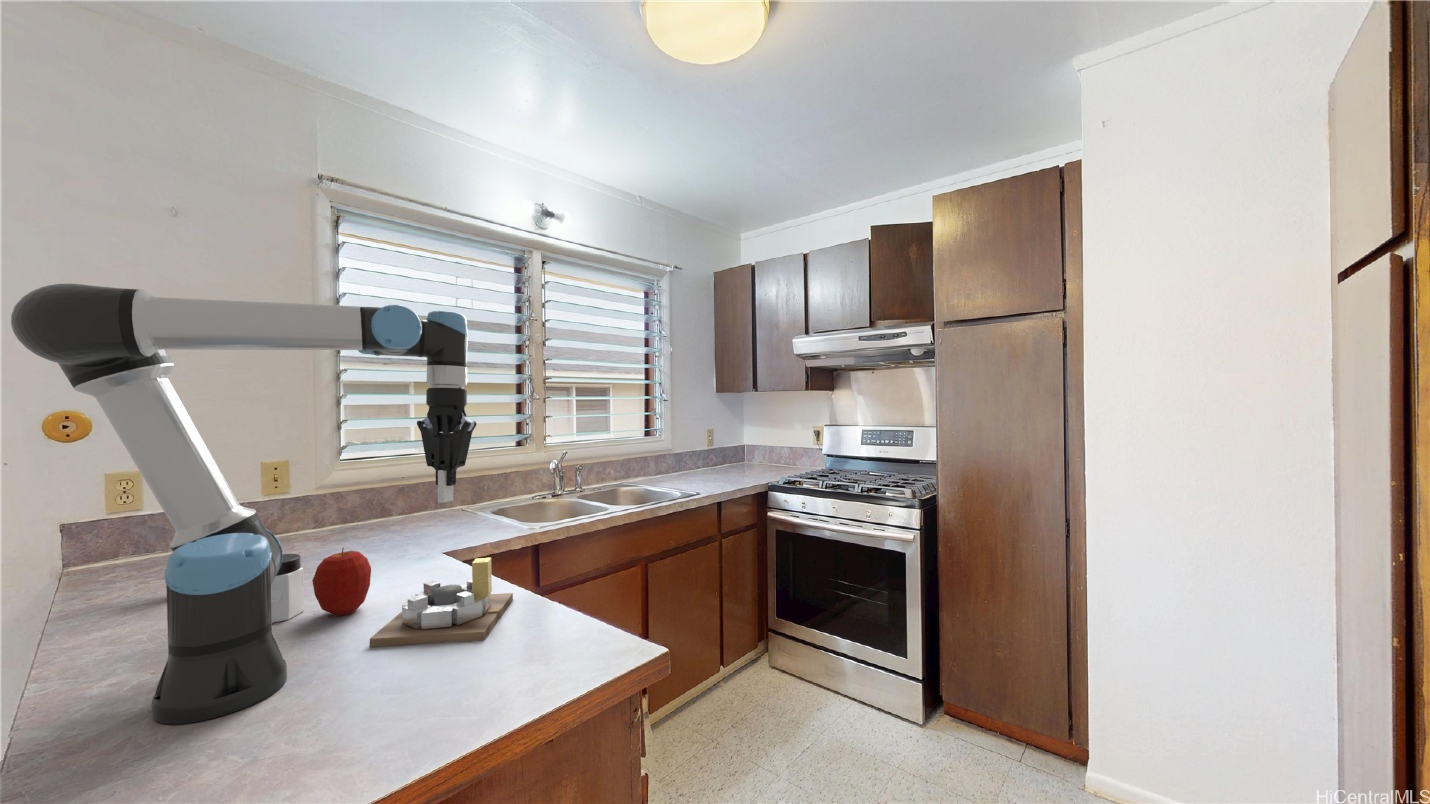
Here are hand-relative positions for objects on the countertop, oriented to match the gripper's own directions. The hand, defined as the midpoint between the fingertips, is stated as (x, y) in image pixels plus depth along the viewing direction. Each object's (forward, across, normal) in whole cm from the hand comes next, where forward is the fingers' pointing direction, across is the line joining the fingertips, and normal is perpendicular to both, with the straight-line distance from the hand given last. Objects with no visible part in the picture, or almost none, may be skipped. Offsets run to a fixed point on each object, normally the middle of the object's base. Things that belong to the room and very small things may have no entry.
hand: (445, 501), depth 111 cm
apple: (+24, +22, +3) cm, 33 cm away
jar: (+25, +35, +8) cm, 43 cm away
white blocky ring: (+22, -3, +2) cm, 22 cm away
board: (+24, -3, +2) cm, 24 cm away
